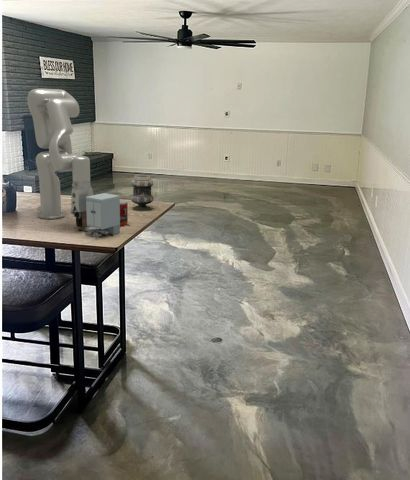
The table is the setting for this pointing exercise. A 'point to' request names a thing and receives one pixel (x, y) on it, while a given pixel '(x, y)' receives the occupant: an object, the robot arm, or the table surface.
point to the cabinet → (104, 212)
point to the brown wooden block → (85, 227)
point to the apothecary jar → (142, 192)
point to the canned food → (123, 213)
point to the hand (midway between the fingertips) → (83, 224)
